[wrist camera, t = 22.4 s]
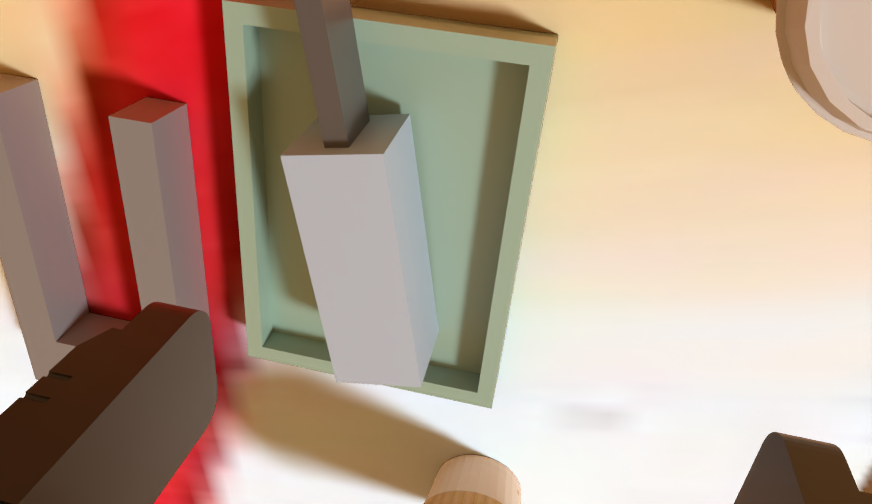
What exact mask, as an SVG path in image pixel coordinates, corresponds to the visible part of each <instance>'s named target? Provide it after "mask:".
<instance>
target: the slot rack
mask: <svg viewBox="0 0 872 504" xmlns="http://www.w3.org/2000/svg"><path fill="white" fill-rule="evenodd" d="M108 118H109V124H110V130H111V135H112V141H113V147H114V153H115V159H116V164H117V170H118V176H119V182H120V188H121V193H122V199H123V205H124V211H125V217H126V222H127V228H128V234H129V240H130V246H131V251H132V257H133V263H134V269H135V275H136V280H137V286H138V292H139V298H140V304H141V309H142V310H143V309H144V308H145V307H146V306H147V305H149V304H150V303H152V302H162V303H167V304H172V305H177V306H182V307H186V308H191V309H196V310H201V311H204V312H206V313H207V314H208V316H209V319H210V315H209V306H208V297H207V287H206V278H205V269H204V260H203V250H202V241H201V232H200V223H199V213H198V204H197V195H196V186H195V176H194V167H193V158H192V149H191V139H190V130H189V121H188V112H187V104H186V103H180V102H174V101H168V100H162V99H156V98H149V97H145V98H143V99H141V100H139V101H137V102H135V103H133V104H131V105H129V106H127V107H125V108H123V109H121V110H119V111H117V112H115V113H113V114H111V115H109V116H108ZM0 258H1V262H2V265H3V269H4V272H5V275H6V279H7V282H8V286H9V289H10V293H11V296H12V299H13V303H14V306H15V310H16V313H17V316H18V320H19V323H20V327H21V330H22V334H23V337H24V340H25V344H26V347H27V351H28V354H29V358H30V361H31V364H32V368H33V371H34V375H35V378H36V379H37V380H39V379H41V378H42V377H43V376H45V377H47V376H48V374H49V370H50V369H52V368H53V367H54V366H55V365H56V364H57V363H58V362H59V361H60V360H61V359H63V358H64V357H65V356H66V355H67V354H68V353H69V352H70V351H71V350H73V349H74V348H75V347H76V346H77V345H79V344H81V343H83V342H85V341H87V340H89V339H91V338H93V337H95V336H97V335H99V334H101V333H103V332H105V331H107V330H109V329H111V328H117V329H121V330H122V329H123V328H124V327H125V326H126V325H127V324H128V323H129V322H130V321H126V320H121V319H117V318H112V317H107V316H103V315H98V314H93V313H89V308H88V304H87V299H86V295H85V290H84V286H83V281H82V277H81V272H80V268H79V263H78V259H77V254H76V250H75V245H74V241H73V236H72V232H71V227H70V223H69V218H68V214H67V209H66V205H65V200H64V196H63V191H62V187H61V182H60V178H59V173H58V169H57V164H56V160H55V155H54V151H53V146H52V142H51V137H50V133H49V128H48V124H47V119H46V115H45V110H44V106H43V101H42V97H41V92H40V88H39V83H38V79H33V78H27V77H21V76H14V75H8V74H2V73H0Z"/></svg>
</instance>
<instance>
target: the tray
mask: <svg viewBox="0 0 872 504" xmlns="http://www.w3.org/2000/svg"><path fill="white" fill-rule="evenodd" d="M222 8H223V21H224V35H225V48H226V62H227V75H228V89H229V102H230V116H231V129H232V143H233V156H234V170H235V183H236V197H237V210H238V224H239V237H240V251H241V264H242V278H243V291H244V305H245V318H246V332H247V345H248V356H251V357H255V358H260V359H265V360H269V361H274V362H279V363H283V364H288V365H292V366H297V367H302V368H306V369H311V370H316V371H320V372H325V373H330V374H334V370H333V366H332V362H331V358H330V354H329V350H328V346H327V342H326V338H325V334H324V330H323V326H322V322H321V318H320V314H319V310H318V306H317V302H316V298H315V294H314V290H313V286H312V282H311V278H310V274H309V270H308V266H307V262H306V258H305V254H304V249H303V245H302V241H301V237H300V233H299V229H298V225H297V221H296V217H295V213H294V209H293V205H292V201H291V197H290V193H289V189H288V185H287V181H286V177H285V173H284V169H283V165H282V161H281V157H280V156H281V155H282V153H283V152H284V151H285V150H286V149H287V148H288V147H289V146H290V145H291V144H292V143H293V142H294V141H295V140H296V139H297V138H298V137H299V136H300V135H301V134H302V133H303V132H304V131H305V130H306V129H307V128H308V127H309V126H310V125H311V123H312V122H313V121H314V120H315V119H316V118H317V117H318V114H317V109H316V105H315V100H314V95H313V90H312V85H311V81H310V76H309V71H308V66H307V62H306V57H305V52H304V47H303V42H302V38H301V33H300V28H299V23H298V19H297V14H296V9H295V4H294V0H222ZM351 10H352V16H353V22H354V28H355V34H356V40H357V46H358V52H359V58H360V64H361V70H362V76H363V82H364V88H365V94H366V100H367V106H368V112H369V115H387V114H410V117H411V125H412V132H413V140H414V147H415V155H416V162H417V170H418V177H419V185H420V192H421V200H422V207H423V215H424V222H425V230H426V237H427V245H428V252H429V260H430V267H431V275H432V282H433V290H434V297H435V305H436V312H437V320H438V327H439V332H438V335H437V339H436V342H435V345H434V348H433V351H432V354H431V357H430V361H429V364H428V367H427V370H426V373H425V376H424V379H423V383H422V386H421V387H407V386H392V385H385V386H390V387H394V388H399V389H404V390H408V391H413V392H417V393H422V394H427V395H431V396H436V397H441V398H445V399H450V400H455V401H459V402H464V403H468V404H473V405H478V406H482V407H487V408H492V403H493V398H494V393H495V388H496V383H497V378H498V372H499V367H500V361H501V355H502V350H503V344H504V338H505V333H506V327H507V322H508V316H509V310H510V305H511V299H512V293H513V288H514V282H515V277H516V271H517V265H518V260H519V254H520V248H521V243H522V237H523V232H524V226H525V220H526V215H527V209H528V203H529V198H530V192H531V187H532V181H533V175H534V170H535V164H536V158H537V153H538V147H539V141H540V136H541V130H542V125H543V119H544V113H545V108H546V102H547V96H548V91H549V85H550V80H551V74H552V68H553V63H554V57H555V51H556V46H557V40H558V35H557V34H549V33H542V32H535V31H527V30H520V29H513V28H506V27H498V26H491V25H484V24H476V23H469V22H462V21H454V20H447V19H440V18H432V17H425V16H418V15H410V14H403V13H396V12H388V11H381V10H374V9H366V8H359V7H352V6H351Z"/></svg>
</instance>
